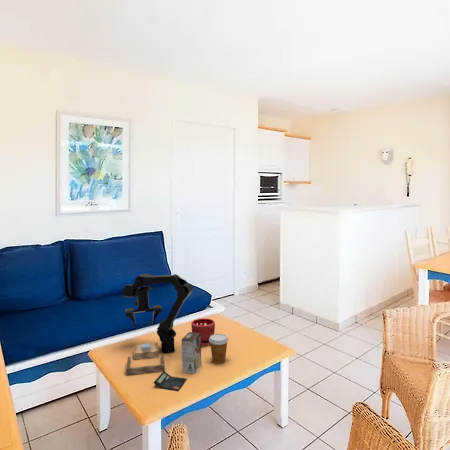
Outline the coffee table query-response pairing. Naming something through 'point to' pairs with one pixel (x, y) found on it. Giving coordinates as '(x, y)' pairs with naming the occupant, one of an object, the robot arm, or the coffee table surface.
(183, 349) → the coffee box
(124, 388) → the coffee table surface
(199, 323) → the plant pot
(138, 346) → the beige rectangular block
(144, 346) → the light blue square block
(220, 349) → the disposable coffee cup
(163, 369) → the dock bay
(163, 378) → the calculator
